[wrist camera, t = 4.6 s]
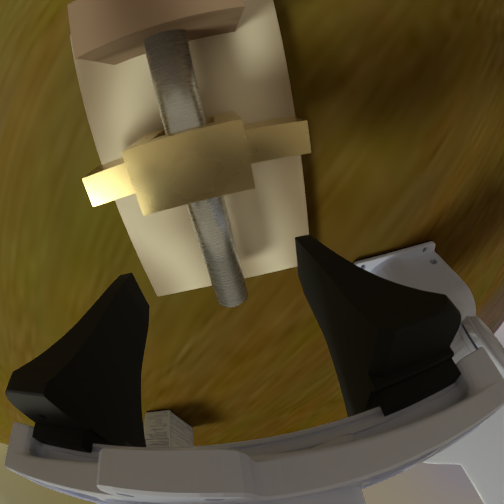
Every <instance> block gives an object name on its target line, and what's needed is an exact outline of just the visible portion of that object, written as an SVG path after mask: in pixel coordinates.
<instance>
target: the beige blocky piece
mask: <svg viewBox="0 0 504 504" xmlns="http://www.w3.org/2000/svg"><path fill="white" fill-rule="evenodd" d="M67 6H68V15H69V23H70V30H71V35H70V40H71V46H72V52H73V57H74V62H75V67H76V72H77V77H78V81H79V86H80V90H81V94H82V98H83V102H84V106H85V110H86V114H87V117H88V121H89V124H90V128H91V131H92V135H93V138H94V141H95V145H96V148H97V151H98V154H99V157H100V160H101V163H102V165H103V164H105V163H108V162H111V161H113V160H116V159H119V158H122V157H123V156H122V151H124V150H125V149H126V148H128V147H129V146H130V145H132V144H133V143H135V142H136V141H137V140H139V139H140V138H142V137H143V136H145V135H146V134H148V133H150V132H154V131H157V130H160V129H163V128H164V127H163V123H162V119H161V115H160V111H159V107H158V103H157V99H156V95H155V91H154V87H153V83H152V79H151V74H150V70H149V66H148V61H147V57H146V52H145V47H144V43H143V41H144V40H145V39H147V38H148V37H150V36H152V35H155V34H157V33H160V32H164V31H168V30H174V29H184V30H186V35H187V39H188V44H189V49H190V53H191V58H192V62H193V67H194V71H195V76H196V80H197V85H198V89H199V93H200V98H201V102H202V107H203V111H204V115H205V117H208V116H212V115H217V114H221V113H226V112H231V111H234V112H235V113H236V114H237V115H238V116H239V117H241V118H242V121H243V124H247V123H253V122H258V121H264V120H270V119H276V118H283V117H289V116H295V110H294V104H293V98H292V92H291V86H290V80H289V74H288V69H287V63H286V58H285V53H284V48H283V43H282V38H281V33H280V29H279V24H278V19H277V15H276V11H275V6H274V2H273V0H75V1H74V2H72V3H70V4H68V5H67ZM251 167H252V172H253V177H254V182H255V189H250V190H245V191H241V192H236V193H232V194H227V195H223V196H224V200H225V204H226V208H227V212H228V216H229V220H230V224H231V228H232V232H233V236H234V240H235V244H236V248H237V252H238V256H239V260H240V264H241V268H242V272H243V276H244V278H248V277H253V276H257V275H262V274H266V273H270V272H275V271H279V270H283V269H288V268H292V267H296V266H298V265H297V255H296V245H295V237H299V236H303V235H308V234H309V228H308V216H307V206H306V196H305V187H304V178H303V169H302V161H301V155H296V156H290V157H284V158H278V159H273V160H268V161H262V162H257V163H252V164H251ZM115 202H116V204H117V207H118V209H119V212H120V214H121V217H122V219H123V222H124V224H125V227H126V229H127V231H128V234H129V236H130V238H131V241H132V243H133V245H134V248H135V250H136V252H137V254H138V256H139V259H140V261H141V263H142V265H143V267H144V269H145V272H146V274H147V276H148V278H149V280H150V282H151V284H152V286H153V288H154V290H155V292H156V294H157V296H163V295H168V294H173V293H178V292H182V291H187V290H192V289H197V288H202V287H206V286H211V285H212V283H211V280H210V277H209V274H208V272H207V269H206V266H205V263H204V260H203V257H202V254H201V251H200V248H199V245H198V242H197V239H196V236H195V232H194V229H193V226H192V223H191V220H190V217H189V214H188V210H187V207H186V205H182V206H178V207H174V208H170V209H167V210H163V211H159V212H156V213H152V214H148V215H145V216H143V213H142V211H141V208H140V205H139V203H138V200H137V197H136V194H132V195H128V196H125V197H122V198H119V199H116V200H115Z"/></svg>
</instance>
